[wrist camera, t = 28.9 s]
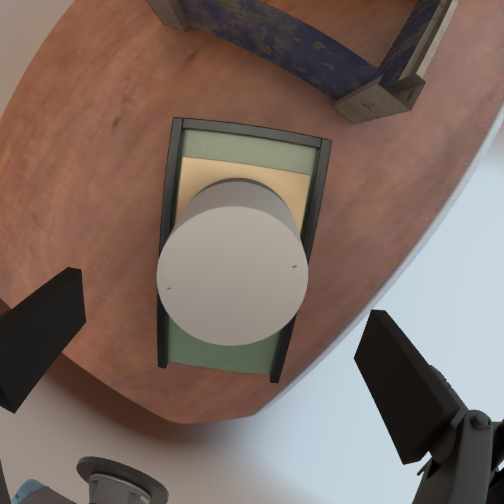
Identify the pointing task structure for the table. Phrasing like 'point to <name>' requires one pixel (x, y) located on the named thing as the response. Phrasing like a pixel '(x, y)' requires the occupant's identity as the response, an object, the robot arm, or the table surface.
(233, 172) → the carriage
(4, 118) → the table surface
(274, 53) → the building
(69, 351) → the table surface
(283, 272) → the smart speaker
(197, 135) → the rail base
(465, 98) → the table surface
